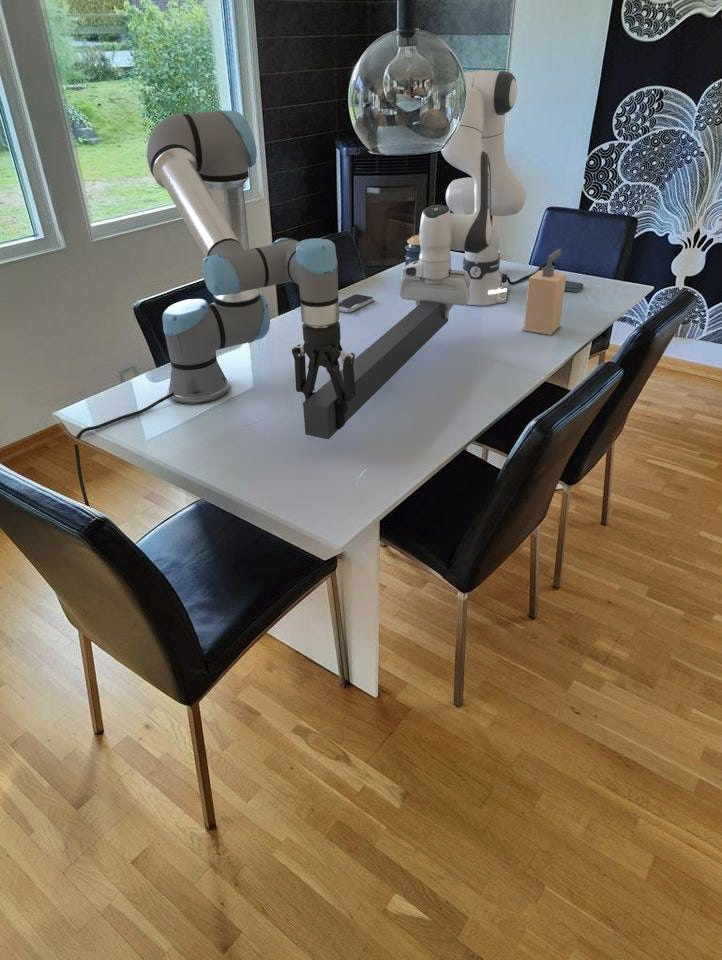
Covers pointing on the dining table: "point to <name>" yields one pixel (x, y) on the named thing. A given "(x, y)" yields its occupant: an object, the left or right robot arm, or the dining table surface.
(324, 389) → the beam
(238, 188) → the left robot arm
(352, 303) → the smartphone
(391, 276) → the dining table surface
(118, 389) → the dining table surface
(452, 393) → the dining table surface
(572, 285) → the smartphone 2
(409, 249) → the canister
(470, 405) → the dining table surface
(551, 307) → the soap dispenser
